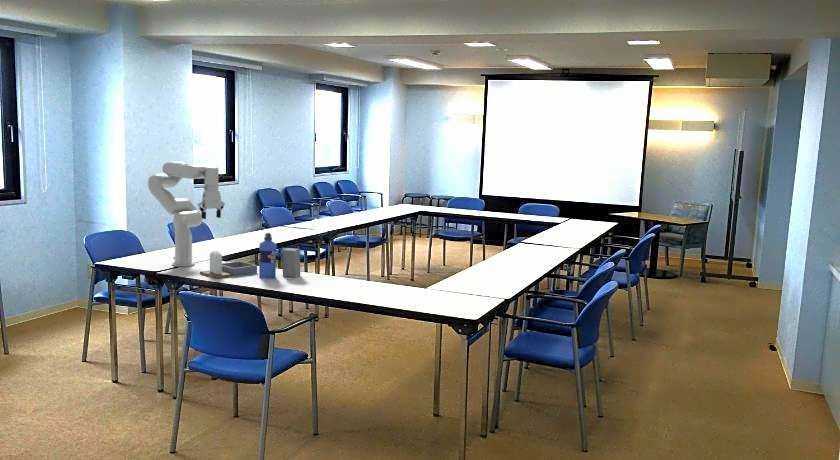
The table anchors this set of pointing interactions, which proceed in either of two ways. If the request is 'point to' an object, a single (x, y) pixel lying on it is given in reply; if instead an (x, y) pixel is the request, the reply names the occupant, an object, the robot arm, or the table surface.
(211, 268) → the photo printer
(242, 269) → the bin
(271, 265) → the water bottle
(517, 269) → the table surface
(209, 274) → the board
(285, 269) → the skincare box
